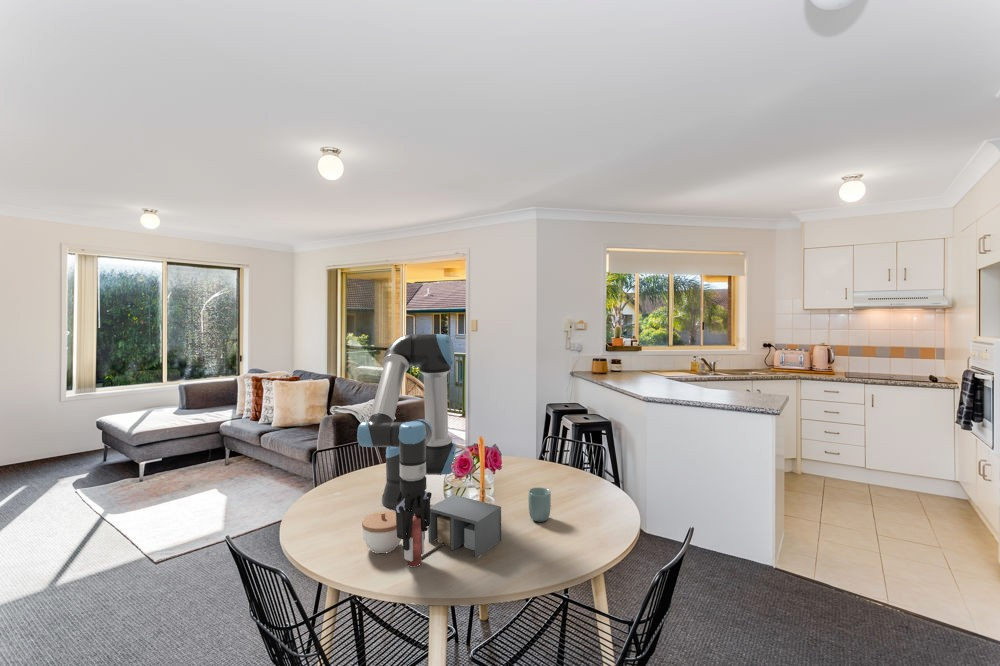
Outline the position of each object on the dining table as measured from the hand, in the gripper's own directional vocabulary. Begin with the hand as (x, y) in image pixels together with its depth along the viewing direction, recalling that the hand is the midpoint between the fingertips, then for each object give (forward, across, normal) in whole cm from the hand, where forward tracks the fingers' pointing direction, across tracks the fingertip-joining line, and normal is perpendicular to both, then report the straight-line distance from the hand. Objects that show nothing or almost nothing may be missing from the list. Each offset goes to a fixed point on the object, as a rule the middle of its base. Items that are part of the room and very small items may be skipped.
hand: (414, 556), depth 140 cm
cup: (+3, +45, -17) cm, 48 cm away
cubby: (+2, +18, -4) cm, 19 cm away
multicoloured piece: (+2, +8, 0) cm, 9 cm away
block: (+2, +18, -9) cm, 20 cm away
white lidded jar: (+2, +2, +14) cm, 14 cm away
